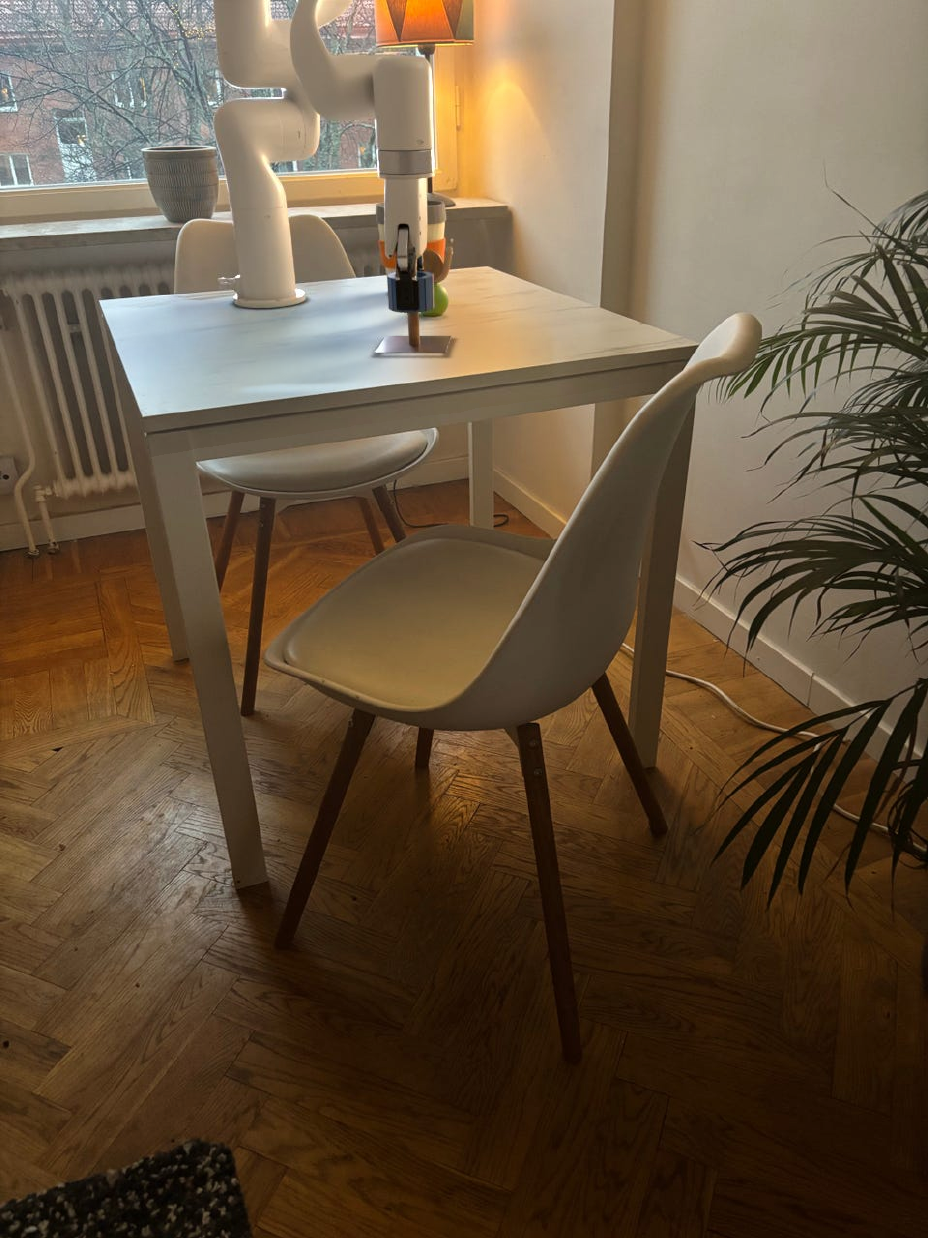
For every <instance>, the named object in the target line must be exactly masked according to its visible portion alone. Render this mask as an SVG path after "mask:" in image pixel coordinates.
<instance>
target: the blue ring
mask: <svg viewBox="0 0 928 1238" xmlns="http://www.w3.org/2000/svg"><path fill="white" fill-rule="evenodd" d="M395 280H396V272H394V273H390V274H388V276H387V275H386V284H387V304H388V310H389V311H391V312H393V313H400V314H402V313H403V314H407V313H414V312H415V313H420V312H425V311H426V312H427V311H430V310H432V309H434V275H433V274H432V273H430V272H425V271H417V280H419V298H420V308H419V310H417V311H411V310H397V308H396V287H395ZM420 314H421V313H420Z"/></svg>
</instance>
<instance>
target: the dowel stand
mask: <svg viewBox="0 0 928 1238" xmlns="http://www.w3.org/2000/svg"><path fill="white" fill-rule="evenodd" d="M406 315H407V334H408V335H384V337H383V339H382V340H381V342H380V344H379V345H378V347H377V348H376V350H375V352H374V353H375V354H446V353H447V350H448V348H449V344H450V342H451V340H452V337H453V336H452V335H420V314H419V313H415V312H414V313H406Z"/></svg>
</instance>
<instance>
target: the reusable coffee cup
mask: <svg viewBox="0 0 928 1238" xmlns="http://www.w3.org/2000/svg"><path fill="white" fill-rule="evenodd" d="M447 219H448V218H447V211H446V204H445V202H444V201H441V200H434V199H433V200H432V199H431V200H430V199H427V247H426V249H425V250H432V251H435V252H437V253H438V254H439V255H440V257H441V259H442V261H443V264H444V259H445V253H444V250H445V248H446V241H447V240H446V239H447V238H446V236H445V225H446V224H445V223H446V222H447ZM375 224H377V228H378V235H379V238H378V239H377V243H378V248H379V254H380V258H381V264H382V267H384V268H385V269H384V270H385V275H386V277H387V276H388V274H390V273H394V272H396V253H395V254H394V255H393V256H392V258H387V257H386V255H385V223H384V201H382V202H379V203H376V204H375ZM440 283H441V282H439V283H437V284H440Z"/></svg>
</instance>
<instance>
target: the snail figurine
mask: <svg viewBox="0 0 928 1238" xmlns="http://www.w3.org/2000/svg"><path fill="white" fill-rule="evenodd" d="M448 243H449V244H453V243H454V239H453V238H450V239H449V240H448ZM453 255H454V248H453V246H447V247H446V246H445V250H444V263H443V261H442V259H441V257H440V255H439V254H438V253H437V252H435V251H432V250H425V251H424V252H423V261H424V269H420V270H425V272H430V273H432V274H433V275H434V309H432V310H430V311H427V312H426V311H425V312H420V314H421V315H422V316H426V317H438V316H442V315H443V314H444V313H445V312H446V311H447V309H448V307H449V303H450V302H449V301H450V297H449V294H448V292H447V290H446V288H445V287H444V286H443V285H441V284H440V283H441V282H443V281H444V280H445V279H447V277H448V275H449V272H450V269H451V265H452V257H453ZM439 282H440V283H439ZM437 283H439V284H437Z"/></svg>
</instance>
